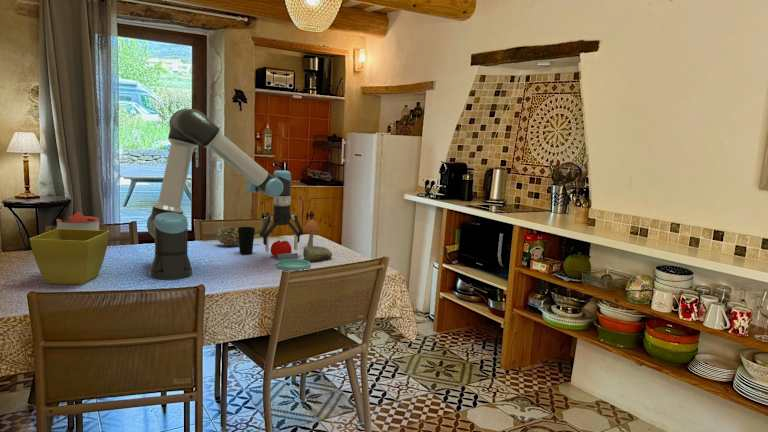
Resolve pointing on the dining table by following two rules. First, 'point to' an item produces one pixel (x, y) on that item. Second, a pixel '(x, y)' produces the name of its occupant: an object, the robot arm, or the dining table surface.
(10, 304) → the dining table surface
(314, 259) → the stone
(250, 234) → the cup
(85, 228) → the citrus juicer
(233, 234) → the pine cone
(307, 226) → the mushroom
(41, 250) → the flower pot
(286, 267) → the dish
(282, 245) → the tomato
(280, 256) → the rail
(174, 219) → the robot arm
